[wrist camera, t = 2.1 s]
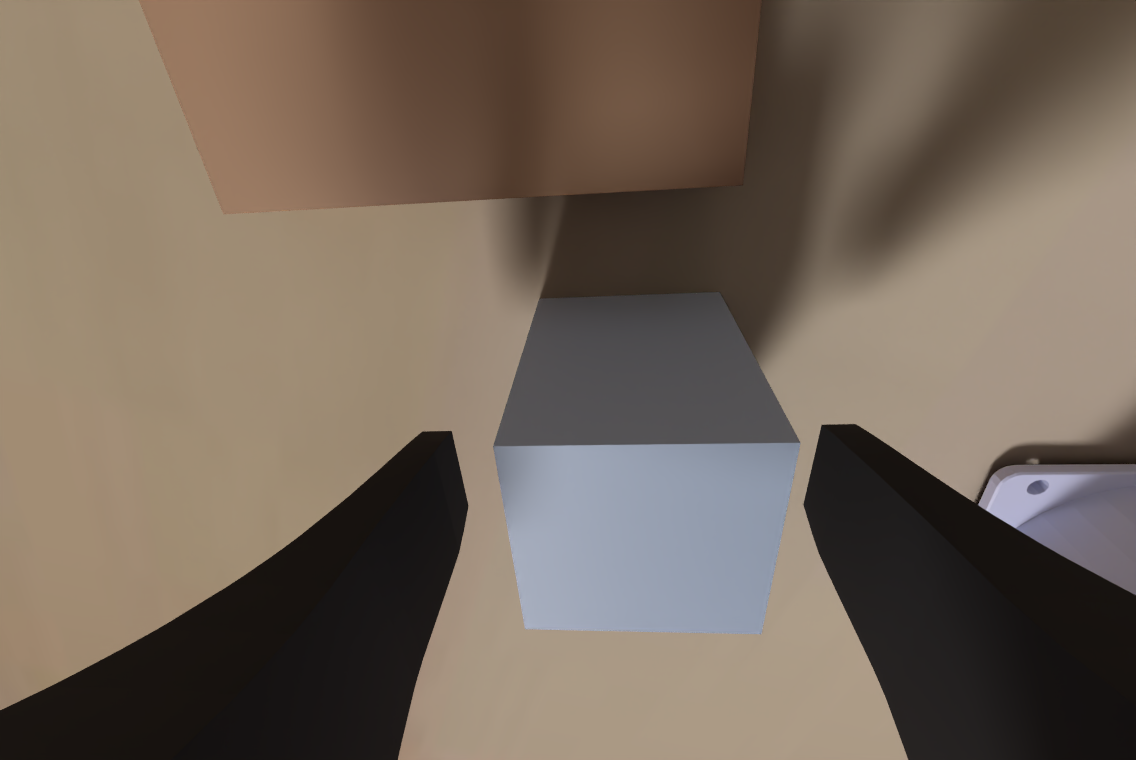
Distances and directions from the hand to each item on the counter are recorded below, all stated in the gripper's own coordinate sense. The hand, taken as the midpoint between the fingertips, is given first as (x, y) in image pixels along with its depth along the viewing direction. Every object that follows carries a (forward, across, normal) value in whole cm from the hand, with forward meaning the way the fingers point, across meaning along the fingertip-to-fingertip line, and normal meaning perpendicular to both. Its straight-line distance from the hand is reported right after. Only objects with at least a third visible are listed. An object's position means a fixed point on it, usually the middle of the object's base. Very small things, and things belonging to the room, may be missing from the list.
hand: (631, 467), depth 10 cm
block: (+4, 0, 0) cm, 4 cm away
